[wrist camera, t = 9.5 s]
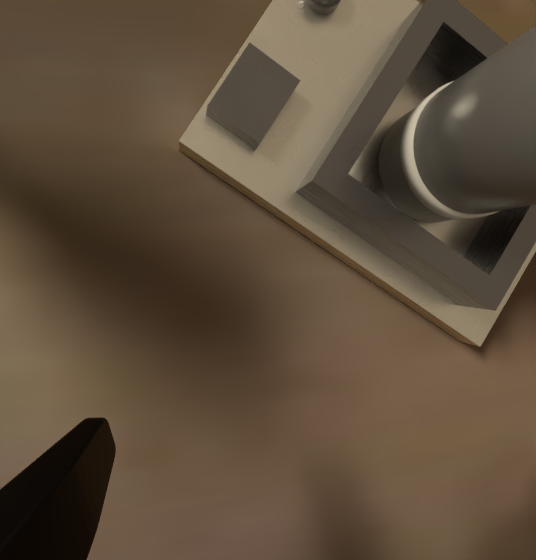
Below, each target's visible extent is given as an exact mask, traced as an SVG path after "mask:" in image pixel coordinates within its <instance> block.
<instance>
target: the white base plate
mask: <svg viewBox="0 0 536 560" xmlns="http://www.w3.org/2000/svg"><path fill="white" fill-rule="evenodd" d="M507 44H508V43H506V42H505V41H504V40H503V39H502V38H500V37H499V36H498V35H497V34H496V33H495V32H493V31H492V30H491V29H490V28H489V27H488V26H486V25H485V24H484V23H483V22H482V21H480V20H479V19H478V18H477V17H476V16H475V15H473V14H472V13H471V12H470V11H469V10H467V9H466V8H465V7H464V6H463V5H462V4H460V3H459V2H458V1H457V0H422V1H421V2H420V3H419V2H417V1H416V0H273V1H272V2H271V4H270V5H269V7H268V8H267V10H266V11H265V13H264V14H263V16H262V17H261V19H260V20H259V22H258V23H257V25H256V26H255V28H254V29H253V31H252V32H251V34H250V35H249V37H248V38H247V40H246V41H245V43H244V44H243V46H242V47H241V49H240V50H239V52H238V53H237V55H236V56H235V58H234V59H233V61H232V62H231V64H230V65H229V67H228V68H227V70H226V71H225V73H224V74H223V76H222V77H221V79H220V80H219V82H218V83H217V85H216V86H215V88H214V89H213V91H212V92H211V94H210V95H209V97H208V98H207V100H206V101H205V103H204V104H203V106H202V107H201V109H200V110H199V112H198V113H197V115H196V116H195V118H194V119H193V121H192V122H191V124H190V125H189V127H188V128H187V130H186V131H185V133H184V134H183V136H182V137H181V139H180V140H179V151H181V152H182V153H184V154H185V155H187V156H188V157H189V158H191V159H192V160H194V161H195V162H197V163H198V164H200V165H201V166H203V167H204V168H206V169H207V170H209V171H210V172H212V173H213V174H215V175H216V176H217V177H219V178H220V179H222V180H223V181H225V182H226V183H228V184H229V185H231V186H232V187H234V188H235V189H237V190H238V191H240V192H241V193H242V194H244V195H245V196H247V197H248V198H250V199H251V200H253V201H254V202H256V203H257V204H259V205H260V206H262V207H263V208H265V209H266V210H267V211H269V212H270V213H272V214H273V215H275V216H276V217H278V218H279V219H281V220H282V221H284V222H285V223H287V224H288V225H290V226H291V227H292V228H294V229H295V230H297V231H298V232H300V233H301V234H303V235H304V236H306V237H307V238H309V239H310V240H312V241H313V242H315V243H316V244H317V245H319V246H320V247H322V248H323V249H325V250H326V251H328V252H329V253H331V254H332V255H334V256H335V257H337V258H338V259H340V260H341V261H342V262H344V263H345V264H347V265H348V266H350V267H351V268H353V269H354V270H356V271H357V272H359V273H360V274H362V275H363V276H365V277H366V278H367V279H369V280H370V281H372V282H373V283H375V284H376V285H378V286H379V287H381V288H382V289H384V290H385V291H387V292H388V293H390V294H391V295H392V296H394V297H395V298H397V299H398V300H400V301H401V302H403V303H404V304H406V305H407V306H409V307H410V308H412V309H413V310H415V311H416V312H418V313H419V314H420V315H422V316H423V317H425V318H426V319H428V320H429V321H431V322H432V323H434V324H435V325H437V326H438V327H440V328H441V329H443V330H444V331H445V332H447V333H448V334H450V335H451V336H453V337H454V338H456V339H457V340H459V341H460V342H463V343H467V344H471V345H474V346H478V347H481V345H482V343H483V342H484V340H485V338H486V336H487V335H488V333H489V331H490V329H491V328H492V326H493V324H494V323H495V321H496V319H497V317H498V316H499V314H500V312H501V311H502V309H503V307H504V305H505V304H506V302H507V300H508V298H509V297H510V295H511V293H512V292H513V290H514V288H515V286H516V285H517V283H518V281H519V280H520V278H521V276H522V274H523V273H524V271H525V269H526V267H527V266H528V264H529V262H530V261H531V259H532V257H533V255H534V254H535V252H536V204H535V205H529V206H524V207H518V208H513V209H507V210H502V211H499V212H497V213H494V214H492V215H488V216H484V217H478V218H472V219H453V220H447V221H442V222H424V221H419V220H416V219H413V218H412V217H410V216H408V215H406V214H405V213H403V212H402V211H401V210H399V209H398V208H397V207H396V206H395V205H394V203H393V202H392V201H391V200H390V198H389V197H388V195H387V193H386V191H385V189H384V187H383V184H382V181H381V177H380V171H379V156H380V150H381V146H382V143H383V140H384V138H385V136H386V134H387V132H388V131H389V129H390V128H391V127H392V125H393V124H394V123H395V122H396V121H397V120H398V119H400V118H401V117H403V116H404V115H405V114H407V113H408V112H410V111H411V110H413V109H414V108H415V107H416V106H417V105H418V104H419V103H420V102H421V101H422V100H423V99H424V98H426V97H427V96H428V95H430V94H431V93H433V92H434V91H436V90H437V89H438V88H440V87H441V86H443V85H445V84H447V83H450V82H452V81H455V80H456V79H458V78H459V77H461V76H462V75H464V74H465V73H467V72H468V71H470V70H471V69H472V68H474V67H475V66H477V65H478V64H480V63H481V62H483V61H484V60H486V59H487V58H488V57H490V56H491V55H493V54H494V53H496V52H497V51H499V50H500V49H502V48H503V47H505V46H506V45H507Z"/></svg>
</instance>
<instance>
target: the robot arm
mask: <svg viewBox="0 0 536 560" xmlns="http://www.w3.org/2000/svg"><path fill="white" fill-rule="evenodd" d="M115 452H116V448H115V443H114V439H113V436H112V433H111V429H110V426H109V423H108V421H107V420H106V419H105V418H86V419H84V420H83V421H82V422H80V423H79V424H78V425H77V426H76V427H74V428H73V429H72V430H71V431H70V432H69V433H67V434H66V435H65V436H64V437H63V438H61V439H60V440H59V441H58V442H57V443H55V444H54V445H53V446H52V447H51V448H49V449H48V450H47V451H46V452H45V453H43V454H42V455H41V456H40V457H39V458H37V459H36V460H35V461H34V462H33V463H31V464H30V465H29V466H28V467H27V468H25V469H24V470H23V471H22V472H21V473H19V474H18V475H17V476H16V477H15V478H13V479H12V480H11V481H10V482H9V483H7V484H6V485H5V486H4V487H3V488H1V489H0V560H87V557H88V554H89V551H90V548H91V546H92V543H93V540H94V537H95V534H96V531H97V527H98V524H99V520H100V516H101V512H102V508H103V504H104V500H105V496H106V491H107V487H108V483H109V479H110V475H111V471H112V467H113V462H114V458H115Z"/></svg>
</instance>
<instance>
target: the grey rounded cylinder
mask: <svg viewBox="0 0 536 560" xmlns="http://www.w3.org/2000/svg"><path fill="white" fill-rule="evenodd" d="M379 171H380V177H381V181H382V184H383V187H384V189H385V191H386V193H387V195H388V197H389V198H390V200H391V201H392V202H393V203H394V205H395V206H396V207H397V208H398V209H399V210H401V211H402V212H403V213H405V214H406V215H408V216H410V217H412V218H413V219H416V220H419V221H424V222H442V221H447V220H453V219H472V218H478V217H484V216H488V215H492V214H494V213H497V212H499V211H502V210H507V209H513V208H518V207H524V206H529V205H535V204H536V25H535V26H534V27H532V28H531V29H529V30H528V31H526V32H525V33H523V34H522V35H521V36H519V37H518V38H516V39H515V40H513V41H512V42H510V43H509V44H507V45H506V46H505V47H503V48H502V49H500V50H499V51H497V52H496V53H494V54H493V55H491V56H490V57H488V58H487V59H486V60H484V61H483V62H481V63H480V64H478V65H477V66H475V67H474V68H472V69H471V70H470V71H468V72H467V73H465V74H464V75H462V76H461V77H459V78H458V79H456V80H455V81H452V82H450V83H447V84H445V85H443V86H441V87H440V88H438V89H437V90H436V91H434V92H433V93H431V94H430V95H428V96H427V97H426V98H424V99H423V100H422V101H421V102H420V103H419V104H418V105H417V106H416V107H415V108H414V109H413V110H411V111H410V112H408V113H407V114H405V115H404V116H403V117H401V118H400V119H398V120H397V121H396V122H395V123H394V124H393V125H392V127H391V128H390V129H389V131H388V132H387V134H386V136H385V138H384V140H383V143H382V146H381V150H380V156H379Z"/></svg>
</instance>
